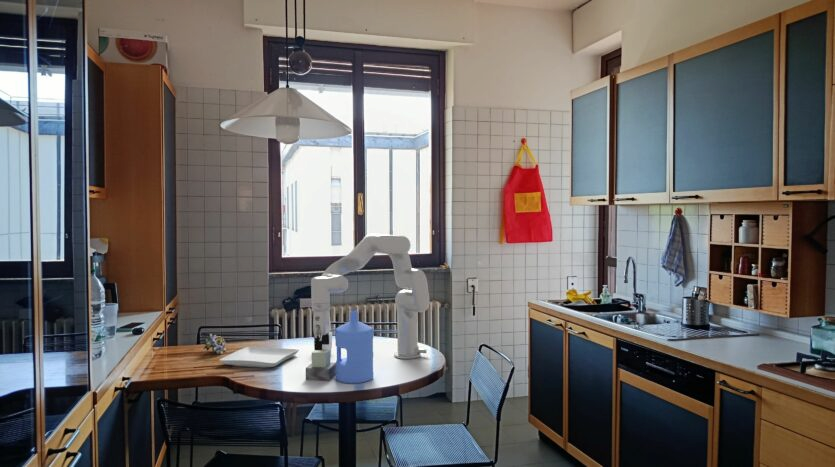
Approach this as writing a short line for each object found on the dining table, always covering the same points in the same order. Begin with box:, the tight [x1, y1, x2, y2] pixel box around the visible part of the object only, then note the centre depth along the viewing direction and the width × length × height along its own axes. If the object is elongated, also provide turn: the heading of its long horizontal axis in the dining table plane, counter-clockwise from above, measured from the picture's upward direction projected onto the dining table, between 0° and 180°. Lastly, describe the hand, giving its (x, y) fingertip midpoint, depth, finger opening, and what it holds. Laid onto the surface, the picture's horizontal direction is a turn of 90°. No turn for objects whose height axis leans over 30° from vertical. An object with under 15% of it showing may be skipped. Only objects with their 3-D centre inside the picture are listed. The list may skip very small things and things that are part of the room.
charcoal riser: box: [305, 361, 336, 382], centre depth 245 cm, size 10×10×5 cm
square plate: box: [219, 346, 300, 369], centre depth 272 cm, size 27×27×4 cm
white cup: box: [319, 331, 333, 355], centre depth 286 cm, size 8×8×10 cm
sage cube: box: [311, 349, 331, 367], centre depth 245 cm, size 6×6×6 cm
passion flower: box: [202, 333, 227, 355], centre depth 286 cm, size 11×11×12 cm
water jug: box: [334, 310, 374, 384], centre depth 243 cm, size 16×16×28 cm
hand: (322, 347), depth 245 cm, fingers open, 9 cm apart
